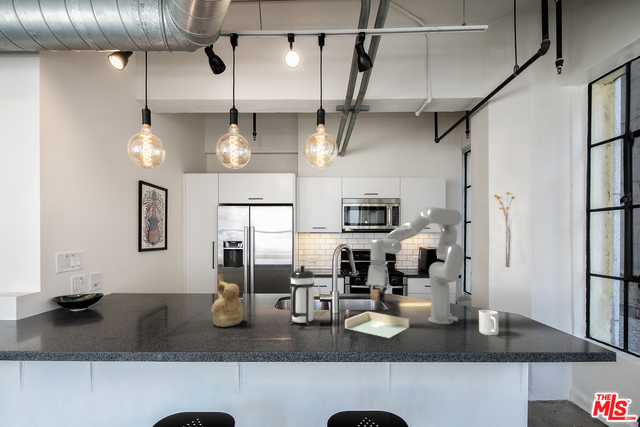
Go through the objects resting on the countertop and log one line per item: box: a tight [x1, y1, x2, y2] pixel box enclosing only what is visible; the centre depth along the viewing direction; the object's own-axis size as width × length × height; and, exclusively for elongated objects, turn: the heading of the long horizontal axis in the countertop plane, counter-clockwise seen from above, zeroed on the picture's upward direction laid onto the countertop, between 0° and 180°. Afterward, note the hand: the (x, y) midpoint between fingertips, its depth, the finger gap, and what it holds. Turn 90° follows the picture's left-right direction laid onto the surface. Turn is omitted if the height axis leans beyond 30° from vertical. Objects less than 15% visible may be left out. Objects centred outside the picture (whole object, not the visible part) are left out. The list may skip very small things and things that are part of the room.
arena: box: [344, 311, 410, 339], centre depth 169 cm, size 24×22×4 cm
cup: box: [478, 309, 499, 336], centre depth 161 cm, size 8×12×10 cm
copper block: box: [370, 287, 386, 302], centre depth 174 cm, size 8×4×5 cm, turn 141°
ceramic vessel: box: [210, 273, 244, 328], centre depth 177 cm, size 17×20×25 cm
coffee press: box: [288, 265, 316, 327], centre depth 178 cm, size 17×16×30 cm
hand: (377, 298), depth 174 cm, fingers closed on copper block, 4 cm apart
